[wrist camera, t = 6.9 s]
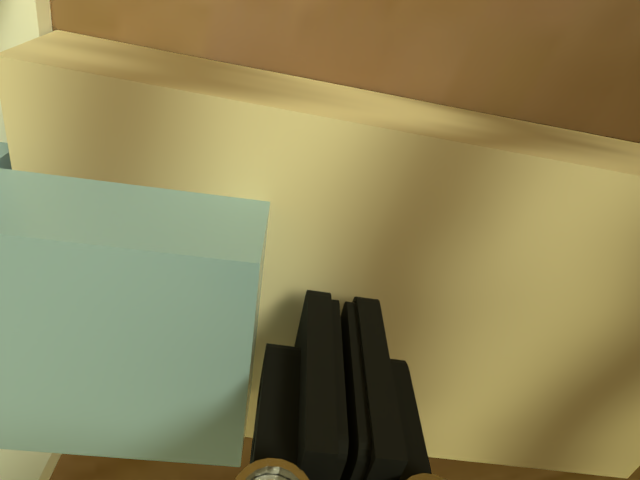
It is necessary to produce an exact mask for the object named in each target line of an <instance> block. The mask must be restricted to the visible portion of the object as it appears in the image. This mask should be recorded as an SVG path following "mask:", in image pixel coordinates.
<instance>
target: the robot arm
mask: <svg viewBox="0 0 640 480" xmlns="http://www.w3.org/2000/svg"><path fill="white" fill-rule="evenodd" d="M235 480H447V479H445V478H443V477H440V476H438V475H435V474H432V473H431V468H430V463H429V459H428V454H427V450H426V445H425V440H424V436H423V431H422V426H421V422H420V417H419V412H418V408H417V403H416V399H415V394H414V389H413V385H412V380H411V375H410V371H409V367H408V364H407V363H406V361H405V360H397V359H390V356H389V350H388V344H387V339H386V333H385V327H384V322H383V316H382V310H381V305H380V301H379V300H378V299H371V298H364V297H357V296H355V297H354V299H353V301H352V302H347V301H346V302H345V303H344V306H343V309H342V313H341V316H340V303H339V300H332V298H331V293H328V292H321V291H313V290H307V291H306V295H305V299H304V304H303V309H302V313H301V318H300V322H299V327H298V332H297V336H296V341H295V345H294V347H293V346H285V345H277V344H269V343H266V348H265V354H264V360H263V365H262V372H261V378H260V385H259V392H258V400H257V408H256V416H255V425H254V433H253V441H252V450H251V458H250V464H249V465H248V466H246V467H245V468H244V469H243V470H242V471H241V472H240V473H239V474H238V475H237V476H236V478H235Z"/></svg>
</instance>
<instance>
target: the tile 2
mask: <svg viewBox="0 0 640 480" xmlns="http://www.w3.org/2000/svg"><path fill="white" fill-rule="evenodd" d="M269 209H270V202H268V201H260V200H252V199H244V198H236V197H228V196H220V195H212V194H204V193H196V192H188V191H180V190H172V189H164V188H156V187H147V186H139V185H131V184H123V183H115V182H107V181H99V180H91V179H83V178H75V177H67V176H58V175H50V174H42V173H34V172H26V171H18V170H10V169H2V168H0V449H8V450H21V451H34V452H47V453H60V454H73V455H87V456H100V457H113V458H126V459H139V460H152V461H166V462H179V463H192V464H205V465H218V466H231V467H241V459H242V452H243V445H244V438H245V430H246V423H247V416H248V409H249V402H250V394H251V385H252V376H253V366H254V356H255V346H256V336H257V327H258V317H259V307H260V297H261V288H262V278H263V268H264V258H265V248H266V239H267V229H268V219H269Z"/></svg>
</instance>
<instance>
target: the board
mask: <svg viewBox="0 0 640 480" xmlns="http://www.w3.org/2000/svg"><path fill="white" fill-rule="evenodd" d="M0 101H1V107H2V113H3V119H4V125H5V131H6V137H7V143H8V149H9V155H10V161H11V167H12V170H18V171H26V172H34V173H42V174H50V175H58V176H67V177H75V178H83V179H91V180H99V181H107V182H115V183H123V184H131V185H139V186H147V187H156V188H164V189H172V190H180V191H188V192H196V193H204V194H212V195H220V196H228V197H236V198H244V199H252V200H260V201H268V202H270V209H269V219H268V229H267V239H266V248H265V258H264V268H263V278H262V288H261V297H260V307H259V317H258V327H257V336H256V346H255V356H254V366H253V376H252V385H251V394H250V402H249V409H248V416H247V423H246V430H245V437H249V438H253V433H254V425H255V416H256V408H257V400H258V392H259V385H260V378H261V372H262V365H263V360H264V354H265V348H266V343H269V344H277V345H285V346H293V347H294V345H295V341H296V336H297V332H298V327H299V322H300V318H301V313H302V309H303V304H304V299H305V295H306V291H307V290H313V291H321V292H328V293H331V298H332V300H339V303H340V316H341V313H342V309H343V306H344V303H345V302H346V301H347V302H352V301H353V299H354V297H355V296H357V297H364V298H371V299H378V300H379V301H380V305H381V310H382V316H383V322H384V327H385V333H386V339H387V344H388V350H389V356H390V359H397V360H405V361H406V363H407V364H408V367H409V371H410V375H411V380H412V385H413V389H414V394H415V399H416V403H417V408H418V412H419V417H420V422H421V426H422V431H423V436H424V440H425V445H426V450H427V454H428V457H433V458H443V459H452V460H461V461H470V462H479V463H489V464H498V465H507V466H516V467H525V468H535V469H544V470H553V471H562V472H571V473H581V474H590V475H599V476H608V477H617V478H627V479H628V477H629V476H630V475H631V474H632V473H633V472H634V471H635V470H636V469H637V468H638V467H639V466H640V143H635V142H630V141H625V140H619V139H614V138H609V137H604V136H599V135H594V134H589V133H584V132H578V131H573V130H568V129H563V128H558V127H553V126H548V125H543V124H537V123H532V122H527V121H522V120H517V119H512V118H507V117H502V116H496V115H491V114H486V113H481V112H476V111H471V110H466V109H461V108H455V107H450V106H445V105H440V104H435V103H430V102H425V101H420V100H414V99H409V98H404V97H399V96H394V95H389V94H384V93H379V92H373V91H368V90H363V89H358V88H353V87H348V86H343V85H338V84H332V83H327V82H322V81H317V80H312V79H307V78H302V77H297V76H291V75H286V74H281V73H276V72H271V71H266V70H261V69H256V68H250V67H245V66H240V65H235V64H230V63H225V62H220V61H215V60H209V59H204V58H199V57H194V56H189V55H184V54H179V53H174V52H168V51H163V50H158V49H153V48H148V47H143V46H138V45H133V44H127V43H122V42H117V41H112V40H107V39H102V38H97V37H92V36H86V35H81V34H76V33H71V32H66V31H61V30H55V31H53V32H50V33H48V34H45V35H43V36H40V37H38V38H35V39H32V40H30V41H27V42H25V43H22V44H20V45H17V46H15V47H12V48H10V49H7V50H4V51H2V52H0Z"/></svg>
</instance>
